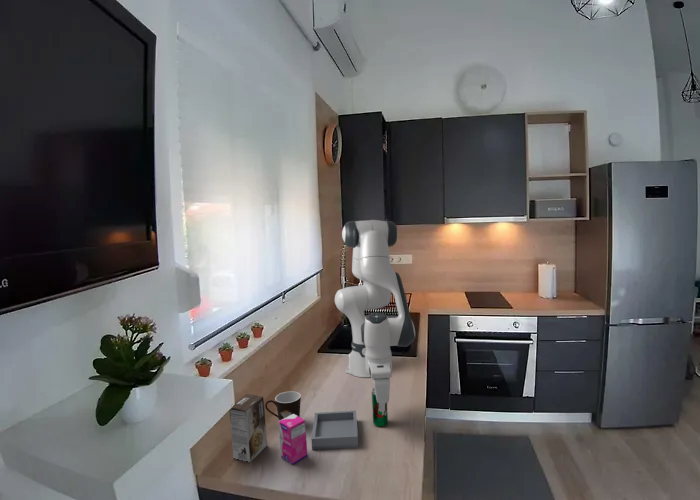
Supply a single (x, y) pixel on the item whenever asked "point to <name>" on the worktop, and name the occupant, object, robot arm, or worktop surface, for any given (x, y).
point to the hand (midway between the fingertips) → (380, 403)
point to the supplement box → (293, 438)
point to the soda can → (378, 412)
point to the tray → (334, 430)
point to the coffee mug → (286, 404)
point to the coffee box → (248, 427)
